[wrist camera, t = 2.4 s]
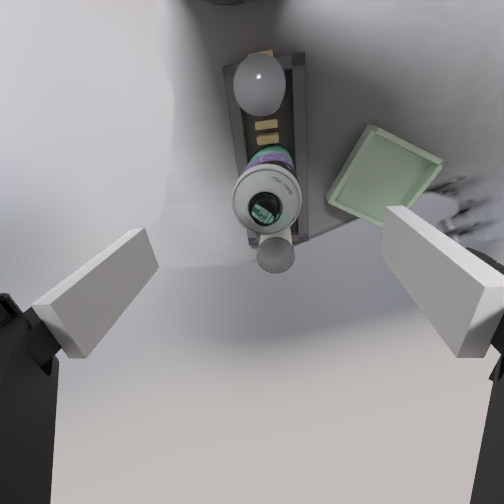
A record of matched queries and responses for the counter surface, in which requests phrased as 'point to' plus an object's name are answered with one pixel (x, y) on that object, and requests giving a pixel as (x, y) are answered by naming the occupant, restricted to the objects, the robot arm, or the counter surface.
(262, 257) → the fuse
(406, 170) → the tray
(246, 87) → the fuse
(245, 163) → the fuse frame
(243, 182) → the spray can
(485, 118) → the counter surface
